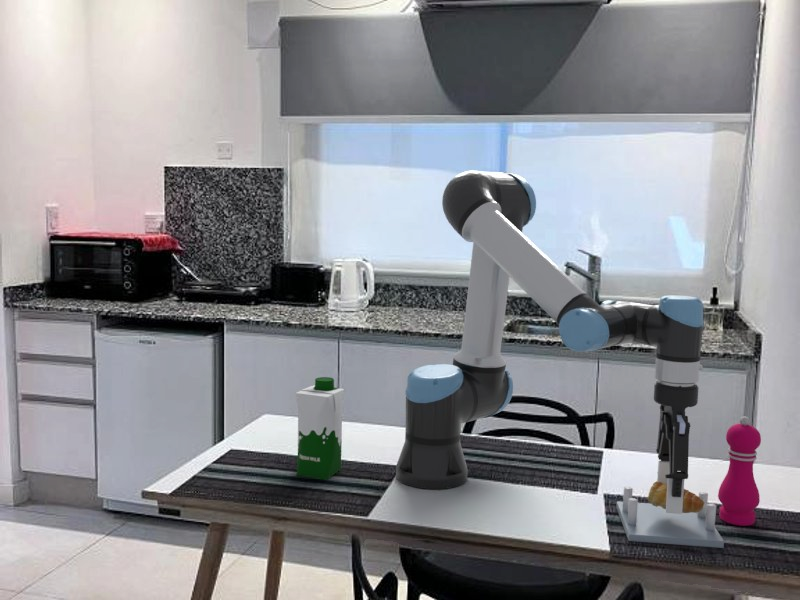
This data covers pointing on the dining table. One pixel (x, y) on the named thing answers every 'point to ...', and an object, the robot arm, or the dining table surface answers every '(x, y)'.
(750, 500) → the pepper mill
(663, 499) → the pastry
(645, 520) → the tray
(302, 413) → the milk carton
